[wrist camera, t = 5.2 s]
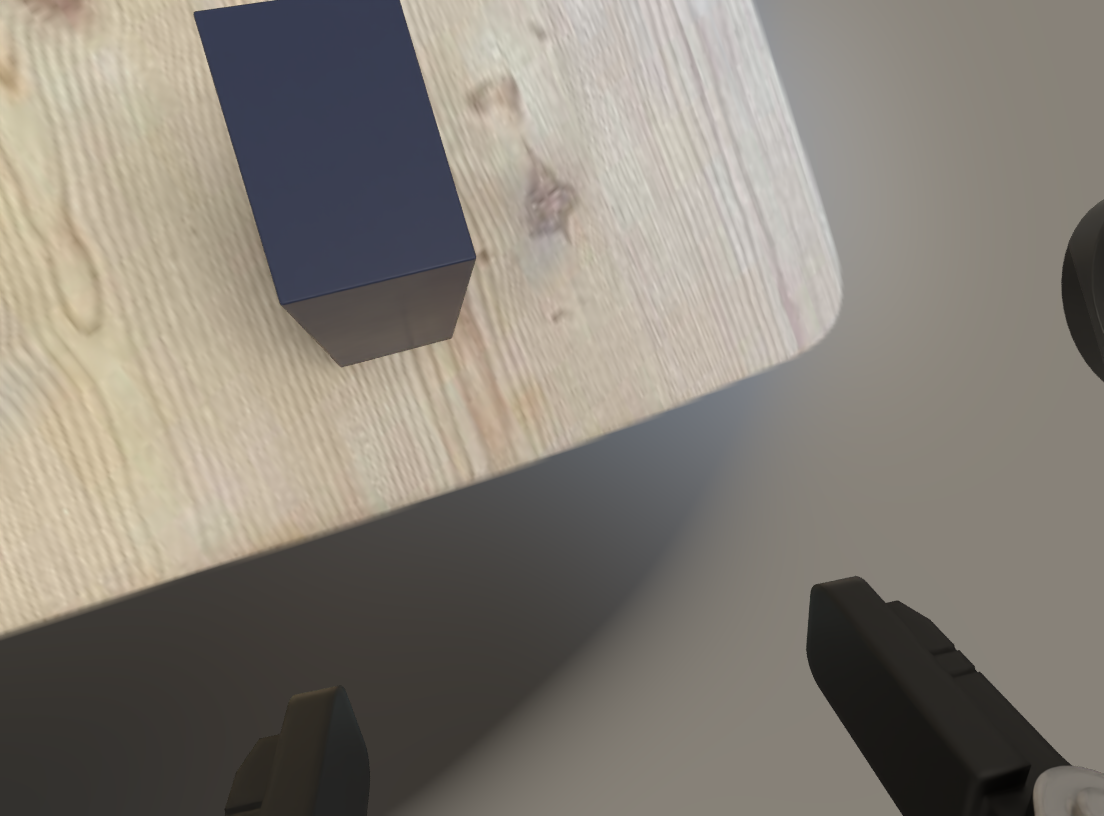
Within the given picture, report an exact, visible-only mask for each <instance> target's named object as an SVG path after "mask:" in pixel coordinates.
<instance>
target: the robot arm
mask: <svg viewBox="0 0 1104 816" xmlns="http://www.w3.org/2000/svg"><path fill="white" fill-rule="evenodd" d="M806 647H807V648H806V651H807V658H808V662H809V666H810V669H811V672H812V675H813V677H814V679H815V681H816V683H817V685H818V687H819V688H820V690H821V691H822V693H823V694H824V696H825V697H826V699H827V700H828V702H829V704H830V705H831V707H832V708H833V710H834V711H835V713H836V714H837V716H838V717H839V719H840V720H841V722H842V723H843V725H844V726H845V728H846V729H847V731H848V732H849V734H850V735H851V737H852V739H853V740H854V742H855V743H856V745H857V746H858V748H859V749H860V751H861V752H862V754H863V755H864V757H865V758H866V760H867V761H868V763H869V765H870V766H871V768H872V769H873V771H874V772H875V774H876V775H877V777H878V778H879V780H880V781H881V783H882V784H883V786H884V787H885V789H886V791H887V792H888V794H889V795H890V797H891V798H892V800H893V801H894V803H895V804H896V806H897V807H898V809H899V810H900V812H901V813H902V815H903V816H1104V774H1103V773H1101V772H1098V771H1095V770H1092V769H1088V768H1084V767H1078V766H1072V765H1071V764H1070V763H1068V762H1067V761H1066V760H1065V759H1064V758H1062V756H1061V755H1060V754H1058V752H1057V751H1056V750H1055V749H1054V748H1053V747H1052V746H1051V745H1050V744H1049V743H1048V742H1047V741H1046V740H1045V739H1044V738H1043V737H1042V736H1041V735H1040V734H1039V733H1038V732H1037V731H1036V730H1035V728H1034V727H1033V726H1032V725H1031V724H1030V723H1029V722H1028V721H1027V720H1026V719H1025V718H1024V717H1023V716H1022V715H1021V714H1020V713H1019V712H1018V711H1017V710H1016V709H1015V708H1014V707H1013V706H1012V705H1011V703H1010V702H1009V701H1008V700H1007V699H1006V698H1005V697H1004V696H1003V695H1002V694H1001V693H1000V692H999V691H998V690H997V689H996V688H995V687H994V686H993V685H992V684H991V683H990V682H989V681H988V680H987V679H986V678H985V676H984V675H983V674H982V673H980V672H977V671H976V670H975V666H974V665H973V664H972V663H971V662H970V661H969V660H968V659H967V658H966V657H965V656H964V655H963V654H962V653H961V651H960V650H958V651H957V650H956V649H955V647H954V644H953V643H952V642H951V641H950V640H949V639H948V638H947V637H946V636H945V635H944V634H943V633H942V632H941V631H940V630H939V629H938V627H937V626H936V625H935V624H934V623H933V622H932V621H931V620H929V619H928V618H926V617H925V616H923V615H921V614H920V613H918V612H916V611H915V610H913V609H911V608H910V607H908V606H906V605H905V604H903V603H901V602H900V601H893V602H889V603H885V602H884V601H883V600H882V599H881V598H880V596H879V595H878V594H877V593H876V592H875V591H874V590H873V589H872V588H871V587H870V585H869V584H868V583H867V582H866V581H865V580H864V579H862V578H860V577H858V576H854V577H849V578H845V579H840V580H835V581H830V582H825V583H821V584H816V585H814V586H813V587H812V589H811V594H810V606H809V620H808V633H807V646H806ZM369 787H370V771H369V759H368V753H367V748H366V745H365V742H364V740H363V737H362V734H361V731H360V729H359V726H358V723H357V720H356V718H355V715H354V712H353V709H352V707H351V704H350V701H349V699H348V696H347V693H346V691H345V689H344V687H342V686H341V685H339V686H335V687H330V688H325V689H320V690H316V691H311V692H306V693H301V694H296V695H293V696H292V698H291V699H290V701H289V703H288V706H287V710H286V714H285V718H284V722H283V726H282V729H281V733H280V734H278V735H274V736H269V737H265V738H260V739H259V740H258V742H257V743H256V744H255V746H254V747H253V749H252V751H251V752H250V753H249V755H248V756H247V758H246V759H245V760H244V762H243V763H242V765H241V766H240V768H239V769H238V771H237V772H236V775H235V778H234V781H233V784H232V787H231V791H230V794H229V797H228V800H227V803H226V807H225V816H367V806H368V797H369Z"/></svg>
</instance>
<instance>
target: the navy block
mask: <svg viewBox="0 0 1104 816" xmlns="http://www.w3.org/2000/svg"><path fill="white" fill-rule="evenodd" d="M194 18H195V21H196V25H197V28H198V31H199V35H200V38H201V41H202V45H203V48H204V52H205V55H206V58H207V62H208V65H209V68H210V72H211V75H212V78H213V82H214V85H215V88H216V92H217V95H218V98H219V102H220V105H221V108H222V112H223V115H224V118H225V122H226V125H227V128H228V132H229V135H230V139H231V142H232V145H233V149H234V152H235V155H236V159H237V162H238V165H239V169H240V172H241V175H242V179H243V182H244V185H245V189H246V192H247V195H248V199H249V202H250V205H251V209H252V212H253V215H254V219H255V222H256V225H257V229H258V232H259V236H260V239H261V242H262V246H263V249H264V252H265V256H266V259H267V262H268V266H269V269H270V272H271V276H272V279H273V282H274V286H275V289H276V292H277V296H278V299H279V302H280V304H281V306H282V307H283V308H284V309H285V310H286V311H287V312H288V313H289V314H290V315H291V316H292V317H293V318H294V319H295V320H296V321H297V322H298V323H299V324H300V325H301V326H302V327H303V328H304V329H305V330H306V331H307V332H308V333H309V335H310V336H311V337H312V338H313V339H314V340H315V341H316V342H317V343H318V344H319V345H320V346H321V347H322V348H323V349H324V350H325V351H326V352H327V353H328V354H329V355H330V356H331V357H332V358H333V359H334V360H335V361H336V362H337V363H338V365H339V366H340V367H345V366H348V365H352V364H356V363H360V362H363V361H367V360H371V359H375V358H379V357H382V356H386V355H390V354H394V353H397V352H401V351H405V350H409V349H413V348H416V347H420V346H424V345H428V344H431V343H435V342H439V341H443V340H447V339H450V338H452V335H453V332H454V329H455V326H456V322H457V319H458V316H459V313H460V309H461V306H462V303H463V300H464V296H465V293H466V290H467V286H468V283H469V280H470V277H471V273H472V270H473V267H474V264H475V260H476V254H475V251H474V248H473V244H472V241H471V238H470V234H469V231H468V228H467V224H466V221H465V218H464V214H463V211H462V207H461V204H460V201H459V197H458V194H457V191H456V187H455V184H454V181H453V177H452V174H451V171H450V167H449V164H448V161H447V157H446V154H445V151H444V147H443V144H442V140H441V137H440V134H439V130H438V127H437V124H436V120H435V117H434V114H433V110H432V107H431V104H430V100H429V97H428V94H427V90H426V87H425V84H424V80H423V77H422V73H421V70H420V67H419V63H418V60H417V57H416V53H415V50H414V47H413V43H412V40H411V37H410V33H409V30H408V27H407V23H406V20H405V17H404V13H403V10H402V6H401V3H400V0H274V1H266V2H259V3H252V4H245V5H238V6H231V7H224V8H217V9H209V10H202V11H195V12H194Z"/></svg>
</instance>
